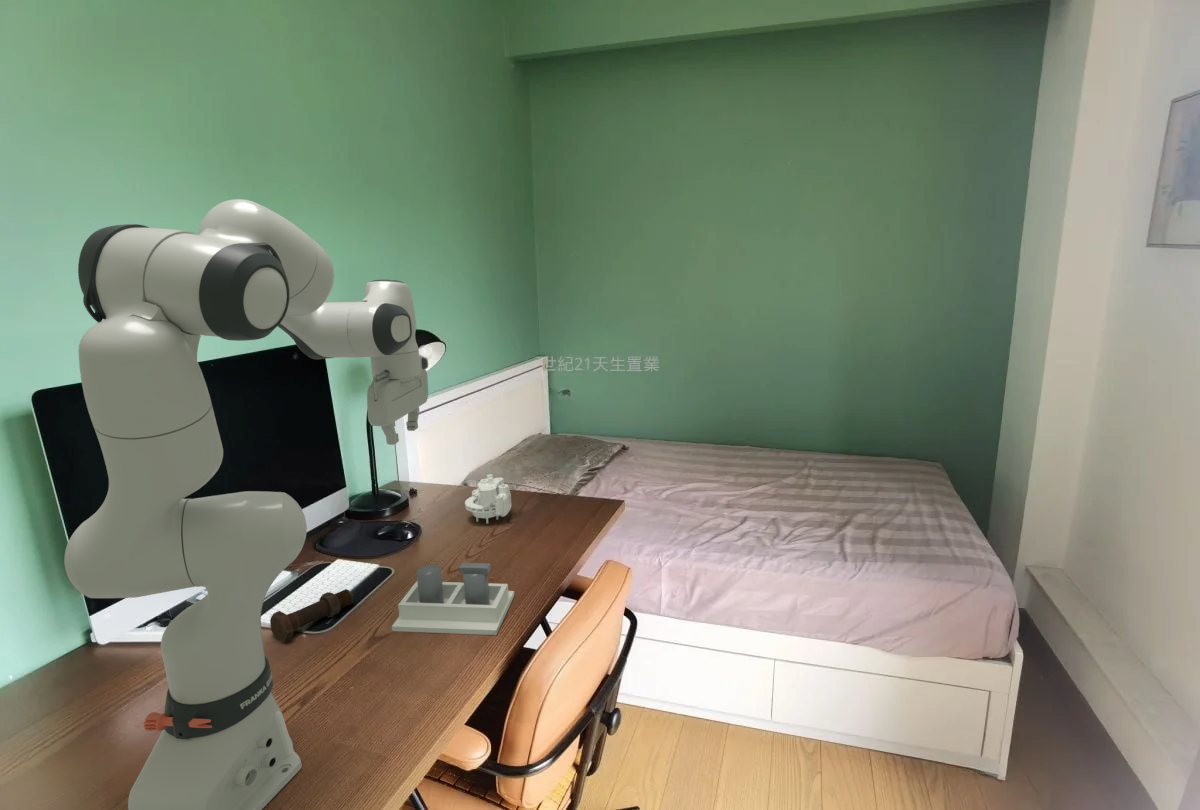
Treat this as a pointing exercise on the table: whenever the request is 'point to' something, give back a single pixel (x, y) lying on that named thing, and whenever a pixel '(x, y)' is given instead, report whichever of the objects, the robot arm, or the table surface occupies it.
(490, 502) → the mechanical part
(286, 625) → the bolt
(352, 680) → the table surface
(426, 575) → the grey upright cylinder
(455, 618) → the housing
